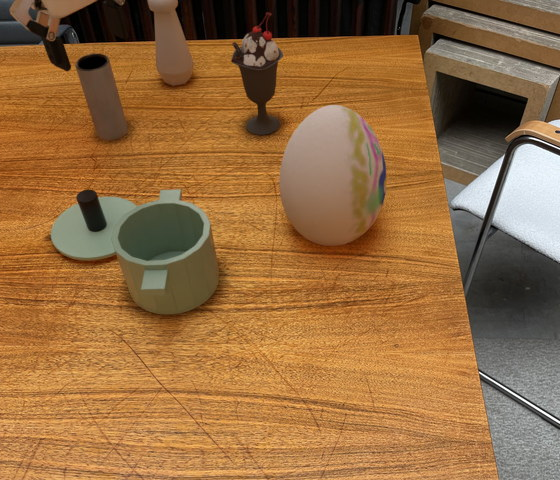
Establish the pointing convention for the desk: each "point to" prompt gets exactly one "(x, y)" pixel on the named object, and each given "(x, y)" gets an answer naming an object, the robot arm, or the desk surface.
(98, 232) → the lid
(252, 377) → the desk surface
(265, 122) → the sundae
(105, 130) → the grey tube
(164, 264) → the pot
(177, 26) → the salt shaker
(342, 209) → the decorative egg
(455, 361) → the desk surface
